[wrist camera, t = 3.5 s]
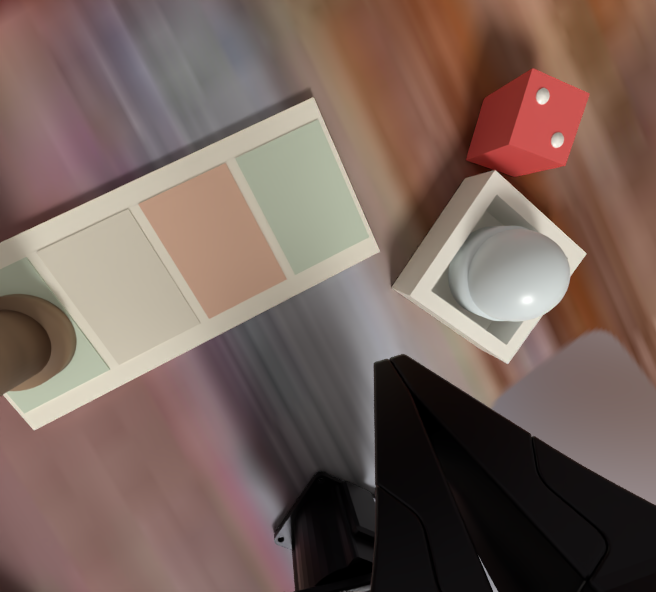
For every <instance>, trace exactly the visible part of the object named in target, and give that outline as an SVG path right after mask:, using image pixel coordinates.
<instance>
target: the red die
mask: <svg viewBox="0 0 656 592" xmlns="http://www.w3.org/2000/svg"><path fill="white" fill-rule="evenodd" d="M588 97H589V93H587V92H585V91H583V90H580V89H578V88H576V87H574V86H571V85H569V84H567V83H565V82H562V81H560V80H558V79H556V78H553V77H551V76H549V75H547V74H545V73H542V72H540V71H538V70H536V69H533V68H532V69H530V70H529V71H527V72H526V73H524V74H522V75H521V76H519V77H518V78H516V79H514V80H513V81H511V82H509V83H508V84H506V85H505V86H503V87H501V88H500V89H498V90H497V91H495V92H493V93H492V94H490V95H489V96H487V97H485V98H484V100H483V103H482V107H481V110H480V114H479V117H478V120H477V124H476V127H475V131H474V134H473V137H472V141H471V144H470V148H469V151H468V154H467V158H466V160H467V161H470V162H473V163H475V164H478V165H481V166H484V167H487V168H490V169H493V170H496V171H498V172H501V173H504V174H507V175H510V176H513V177H517V176H521V175H526V174H530V173H534V172H539V171H543V170H548V169H552V168H557V167H561V166H565V165H566V162H567V159H568V156H569V153H570V150H571V147H572V144H573V141H574V139H575V136H576V133H577V130H578V127H579V124H580V121H581V118H582V115H583V112H584V109H585V106H586V103H587V100H588Z"/></svg>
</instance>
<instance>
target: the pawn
mask: <svg viewBox="0 0 656 592" xmlns="http://www.w3.org/2000/svg"><path fill="white" fill-rule="evenodd" d="M76 345H77V339H76V333H75V330H74V327H73V325H72V323H71V321H70V320H69V318H68V317H67V316H66V314H65V313H64V312H63V311H62V310H61V309H59V308H58V307H57V306H55V305H54V304H52V303H51V302H49V301H47V300H45V299H42V298H40V297H36V296H32V295H27V294H10V295H4V296H0V396H2V395H3V394H5V393H7V392H8V391H22V390H28V389H31V388H34V387H37V386H39V385H41V384H43V383H44V382H46V381H48V380H49V379H51V378H52V377H54V376H55V375H57V374H58V373H60V372H61V371H62V370H63V369H65V368H66V367H67V365H68V364H69V363H70V362H71V360H72V358H73V356H74V354H75V351H76Z"/></svg>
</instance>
